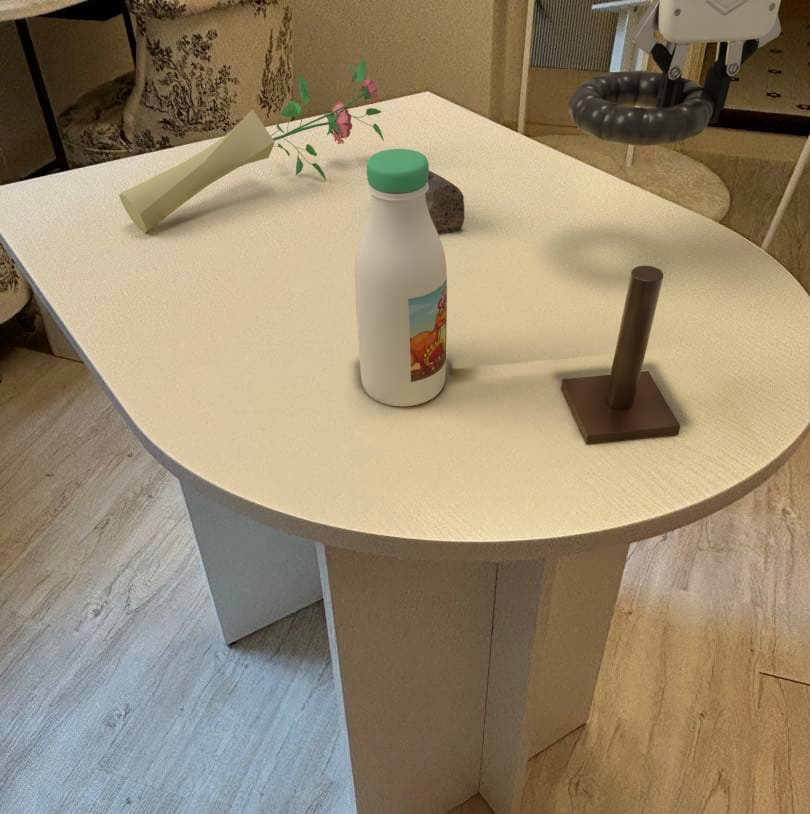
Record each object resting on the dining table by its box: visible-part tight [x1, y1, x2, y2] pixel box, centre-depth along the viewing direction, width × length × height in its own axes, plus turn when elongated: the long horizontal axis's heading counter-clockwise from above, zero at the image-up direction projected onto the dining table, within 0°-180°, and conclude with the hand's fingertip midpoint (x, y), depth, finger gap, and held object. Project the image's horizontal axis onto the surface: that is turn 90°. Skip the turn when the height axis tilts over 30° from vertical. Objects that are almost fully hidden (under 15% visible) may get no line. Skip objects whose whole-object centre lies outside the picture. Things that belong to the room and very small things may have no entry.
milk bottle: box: [353, 148, 448, 407], centre depth 66 cm, size 8×8×20 cm
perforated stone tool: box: [425, 170, 465, 235], centre depth 92 cm, size 15×5×7 cm, turn 36°
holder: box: [560, 265, 681, 445], centre depth 65 cm, size 8×8×13 cm
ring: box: [567, 70, 714, 147], centre depth 75 cm, size 13×13×3 cm
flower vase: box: [118, 58, 385, 234], centre depth 99 cm, size 12×12×35 cm
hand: (687, 117), depth 76 cm, fingers closed on ring, 3 cm apart
